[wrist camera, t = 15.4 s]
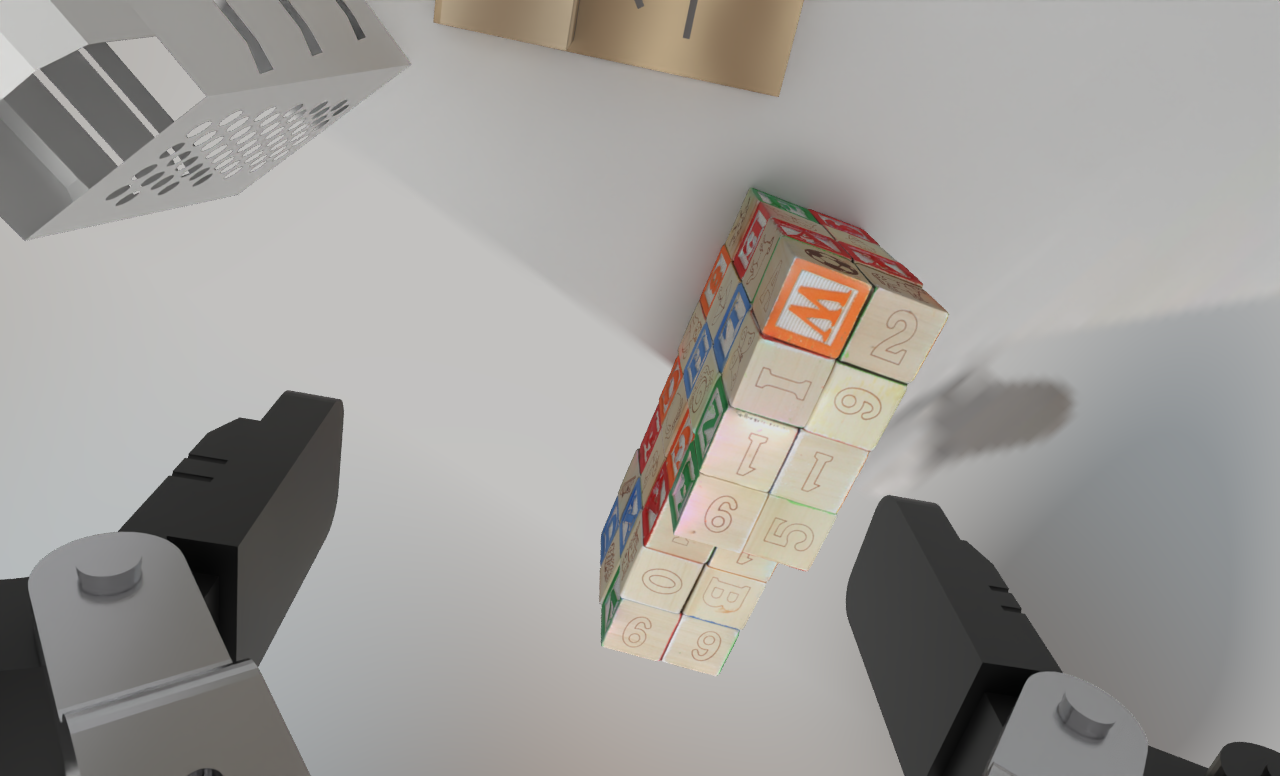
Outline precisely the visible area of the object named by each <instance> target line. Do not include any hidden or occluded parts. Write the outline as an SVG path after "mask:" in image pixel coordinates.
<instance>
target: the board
mask: <svg viewBox="0 0 1280 776" xmlns="http://www.w3.org/2000/svg"><path fill="white" fill-rule="evenodd" d="M803 2H804V0H580V4H579V10H578V17H577V23H576V29H575V35H574V41H573V42H572V43H571V45H570V46H569V47H568V48H567V50H566V51H568V52H573V53H577V54H582V55H587V56H591V57H596V58H600V59H605V60H610V61H614V62H619V63H624V64H628V65H633V66H638V67H642V68H647V69H651V70H656V71H661V72H665V73H670V74H675V75H679V76H684V77H688V78H693V79H698V80H702V81H707V82H712V83H716V84H721V85H726V86H730V87H735V88H739V89H744V90H749V91H753V92H758V93H763V94H767V95H772V96H777V97H779V94H780V90H781V86H782V82H783V79H784V75H785V71H786V67H787V63H788V59H789V55H790V52H791V48H792V44H793V40H794V36H795V32H796V29H797V25H798V21H799V17H800V13H801V9H802V6H803ZM441 8H442V0H436V1H435V11H434V23H438V24H440V18H441ZM443 25H445V24H443ZM448 26H449V25H448ZM452 27H454V26H452ZM457 28H459V27H457ZM461 29H463V28H461ZM466 30H468V29H466ZM471 31H472V30H471ZM475 32H477V31H475ZM480 33H482V32H480ZM485 34H486V33H485ZM489 35H491V34H489ZM494 36H495V35H494ZM499 37H500V36H499ZM503 38H505V37H503ZM508 39H509V38H508ZM512 40H514V39H512ZM517 41H518V40H517ZM522 42H523V41H522ZM526 43H528V42H526ZM531 44H532V43H531ZM536 45H537V44H536ZM540 46H542V45H540ZM545 47H546V46H545ZM549 48H551V47H549ZM554 49H555V48H554ZM559 50H560V49H559ZM563 51H565V50H563Z"/></svg>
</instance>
